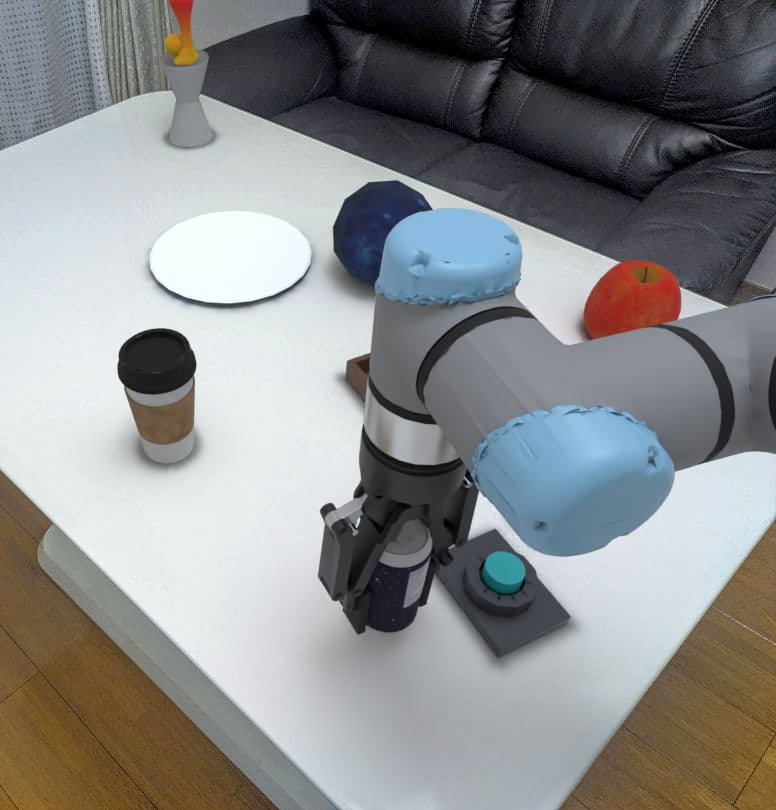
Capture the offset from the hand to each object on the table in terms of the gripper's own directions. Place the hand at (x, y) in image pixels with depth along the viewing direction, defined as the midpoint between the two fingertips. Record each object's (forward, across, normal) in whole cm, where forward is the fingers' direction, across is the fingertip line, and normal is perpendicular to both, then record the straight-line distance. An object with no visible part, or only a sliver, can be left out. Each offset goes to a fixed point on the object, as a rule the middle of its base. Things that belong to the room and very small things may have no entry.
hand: (384, 607), depth 66 cm
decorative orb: (+3, -30, -49) cm, 57 cm away
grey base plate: (+4, -12, +1) cm, 13 cm away
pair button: (+1, -12, +1) cm, 12 cm away
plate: (+3, -12, -63) cm, 64 cm away
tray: (+3, -20, -26) cm, 33 cm away
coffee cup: (+3, +10, -31) cm, 32 cm away
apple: (+3, -51, -23) cm, 56 cm away
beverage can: (+1, 0, 0) cm, 1 cm away
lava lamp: (+2, -22, -104) cm, 107 cm away
